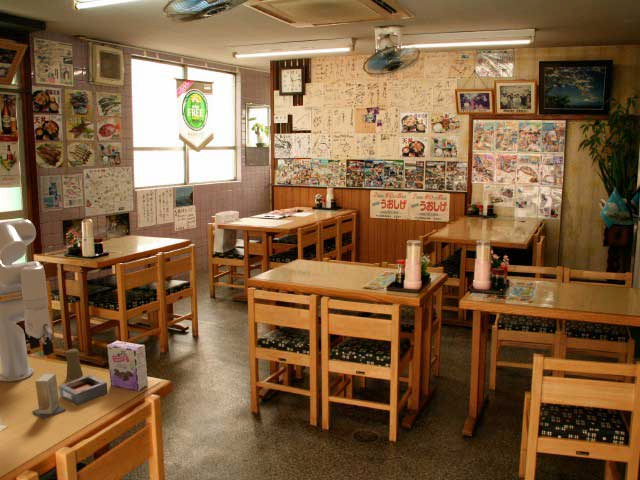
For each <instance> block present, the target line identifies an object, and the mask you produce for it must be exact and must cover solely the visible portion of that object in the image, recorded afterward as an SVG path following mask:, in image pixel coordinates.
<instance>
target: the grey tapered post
mask: <svg viewBox="0 0 640 480" xmlns="http://www.w3.org/2000/svg"><path fill="white" fill-rule="evenodd" d="M64 356H65V359H66V379H67V380H77V379H79V378H82V377H84V373H83V370H82V365H81V362H80V358H79V357H80V351H79V350H78V349H77V348H70V349H68V350H66V352H65V353H64Z"/></svg>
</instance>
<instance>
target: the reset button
mask: <svg viewBox="0 0 640 480" xmlns="http://www.w3.org/2000/svg"><path fill="white" fill-rule="evenodd" d="M89 387H92V386H90V385H88V384H87V385H84V386H81V387H78V388H76V389H73V390H75V391H77V392H78V391H81V390H84V389H86V388H89Z"/></svg>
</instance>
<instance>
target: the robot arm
mask: <svg viewBox="0 0 640 480" xmlns="http://www.w3.org/2000/svg"><path fill="white" fill-rule="evenodd" d="M36 236H37V231H36V227H35V225H34V223H33V222H32V221H31V220H29V219H15V220H8V221H2V222H0V297H4V296H12V295H16V294H22V295H21V296H15V297H10V298H4V299H2V300H0V366H1V372H0V381H1V382H6V383H7V382H10V383H11V382H17V381H22V380H25V379H26V378H29V377H31V376H32V375H33V374H34V373H35V372H34V370H35V369H34V368H32V367H31V366H29V359H28V351H27V343H26V342H27V341H26V336H25V333H26V334H27V337H28V342H29V349H30V350H34V349H38V348H40V347H41V344H40V339H41V341H42V352H43V356H46V357H47V356H49V355H52V354H54V343H53V342H54V332H53V330H52V322H51V318H50V317H51V316H50V313H49V297H48V288H47V280H46V273H45V269H44V268H45V267H44V265H43V264H42V263H40V262H39V261H38V260H36V261H35V260H34V261H33V260H32V261H26V262H21V263H19V262H18V263H15V262H17V261H20V259H22V258H23V257H24V256H25V255H26V253H27V246H29V245H30V244H31V243H33V242H34V241H35V239H36ZM22 321H24V328H25V332H24V329H23V328H22V327H21V326H20V325H18V324H17V323H19V322H22Z"/></svg>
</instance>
